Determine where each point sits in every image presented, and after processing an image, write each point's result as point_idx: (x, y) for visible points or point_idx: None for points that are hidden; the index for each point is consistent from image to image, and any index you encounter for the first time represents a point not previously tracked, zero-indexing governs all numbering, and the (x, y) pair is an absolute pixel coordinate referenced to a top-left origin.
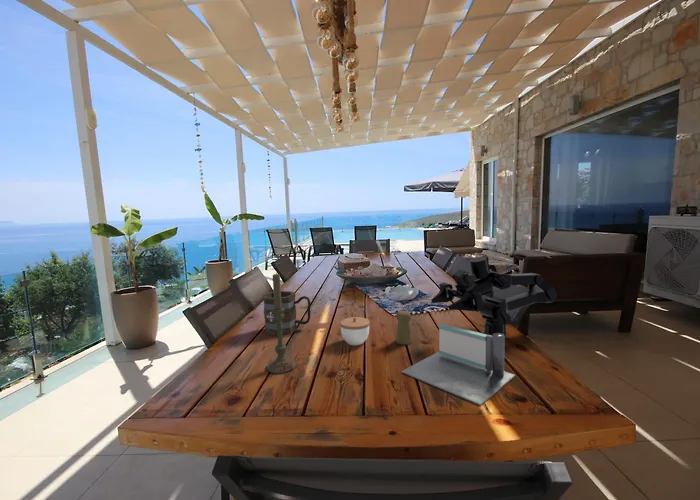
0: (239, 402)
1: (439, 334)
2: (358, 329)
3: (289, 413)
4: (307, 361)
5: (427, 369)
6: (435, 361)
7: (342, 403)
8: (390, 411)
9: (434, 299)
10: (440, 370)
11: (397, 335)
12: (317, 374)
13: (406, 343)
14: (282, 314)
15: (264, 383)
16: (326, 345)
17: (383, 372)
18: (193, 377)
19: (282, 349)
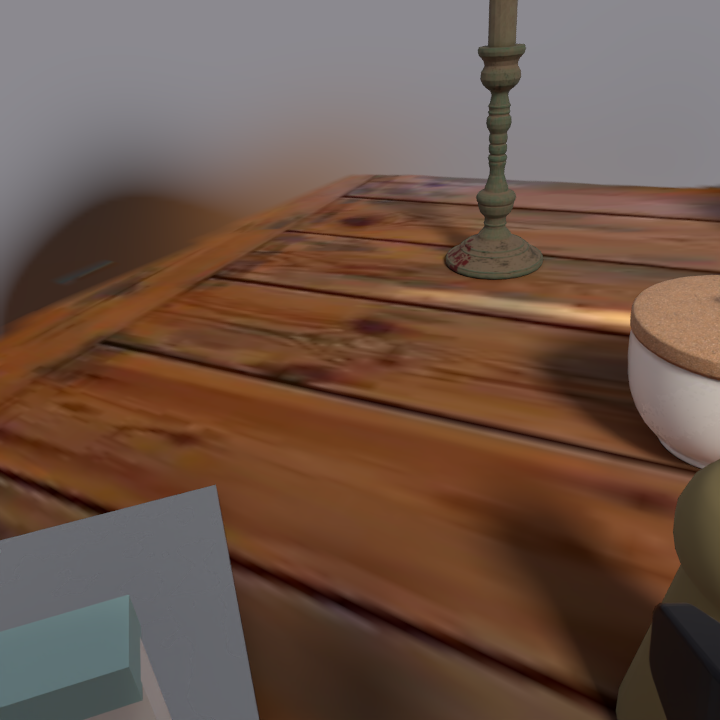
0: (343, 226)
1: (158, 691)
2: (633, 333)
3: (238, 265)
4: (511, 297)
5: (123, 595)
6: None
7: (190, 322)
8: (49, 384)
9: (686, 673)
10: None
11: None
12: (394, 305)
13: (617, 705)
14: (490, 69)
15: (406, 243)
16: None
17: (275, 438)
18: None
19: (477, 198)
